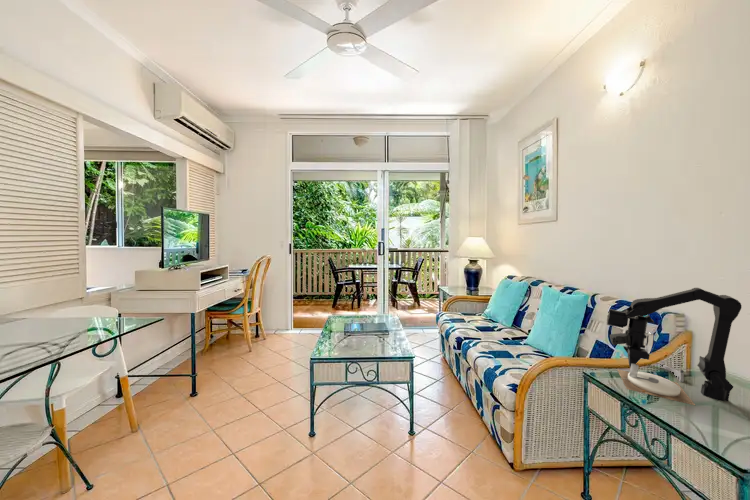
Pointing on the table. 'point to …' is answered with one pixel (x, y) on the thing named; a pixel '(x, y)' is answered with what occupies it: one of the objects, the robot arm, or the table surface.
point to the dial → (652, 382)
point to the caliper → (676, 372)
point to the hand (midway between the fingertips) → (630, 366)
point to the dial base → (681, 398)
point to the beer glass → (648, 342)
